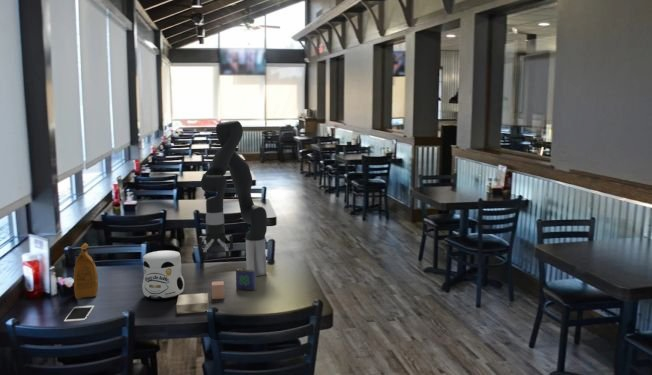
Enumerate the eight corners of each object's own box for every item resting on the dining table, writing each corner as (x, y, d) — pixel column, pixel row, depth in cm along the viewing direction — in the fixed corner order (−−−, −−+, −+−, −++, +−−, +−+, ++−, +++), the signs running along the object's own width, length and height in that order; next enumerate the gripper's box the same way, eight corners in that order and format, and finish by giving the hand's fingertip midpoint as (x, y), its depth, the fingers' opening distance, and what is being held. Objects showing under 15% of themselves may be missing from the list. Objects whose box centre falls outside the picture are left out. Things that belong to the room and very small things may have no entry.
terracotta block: (224, 294, 251) (223, 281, 250) (224, 298, 246) (223, 284, 245) (212, 295, 250) (211, 281, 249) (212, 299, 245) (211, 285, 244)
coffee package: (101, 289, 259) (97, 241, 256) (97, 298, 247) (94, 248, 244) (77, 291, 257) (73, 242, 253) (72, 300, 245) (68, 249, 241)
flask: (256, 289, 257) (256, 265, 255) (254, 291, 254) (253, 267, 253) (237, 287, 260) (236, 264, 258) (234, 289, 257) (233, 266, 255)
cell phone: (94, 306, 239) (94, 305, 238) (85, 321, 223) (84, 319, 223) (74, 308, 237) (74, 306, 237) (63, 322, 222) (63, 321, 222)
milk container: (147, 305, 238) (144, 262, 236) (139, 293, 254) (137, 253, 251) (189, 298, 246) (187, 257, 244) (179, 286, 261) (177, 248, 259)
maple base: (208, 302, 243) (208, 292, 242) (207, 312, 231) (207, 302, 230) (179, 304, 241) (178, 294, 240) (176, 314, 229) (176, 305, 228)
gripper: (232, 219, 248) (233, 256, 251) (198, 221, 246) (199, 258, 248) (232, 223, 241) (233, 261, 243) (197, 224, 238) (198, 263, 241)
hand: (216, 259), depth 246 cm, fingers open, 8 cm apart
